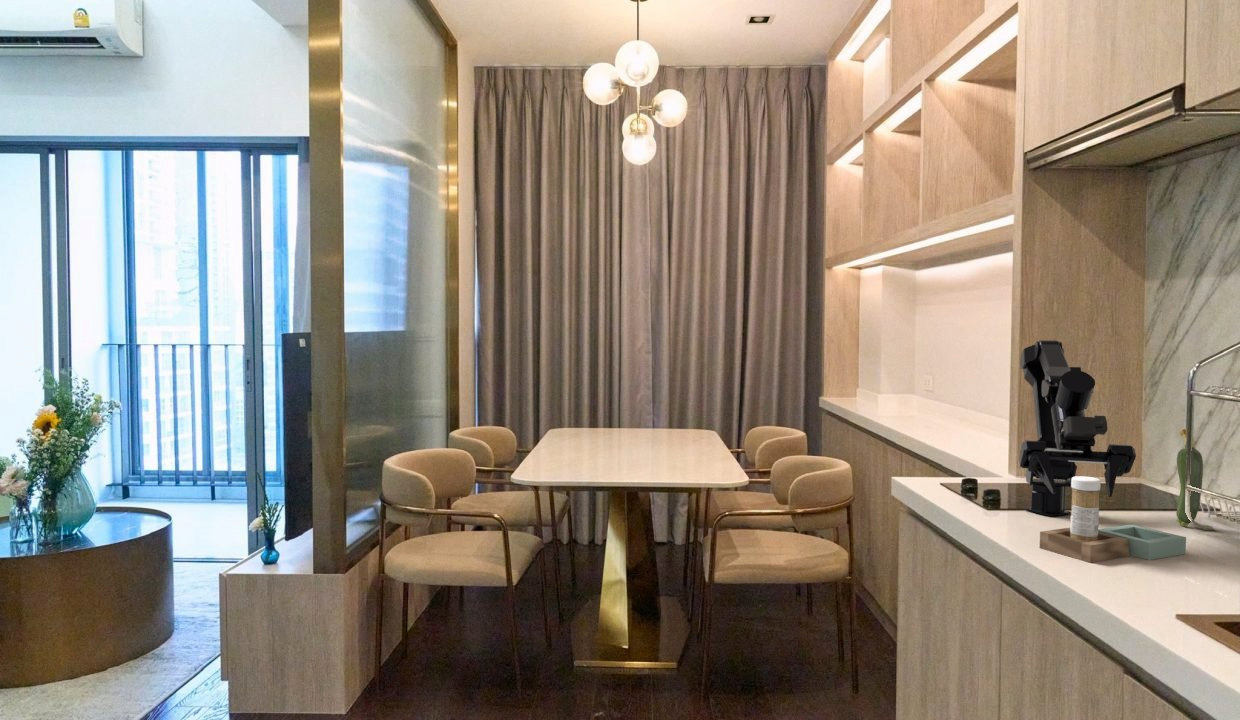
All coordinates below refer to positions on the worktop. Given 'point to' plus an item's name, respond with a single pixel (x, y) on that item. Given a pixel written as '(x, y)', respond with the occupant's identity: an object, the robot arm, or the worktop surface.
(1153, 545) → the green square socket
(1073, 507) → the sprinkles bottle
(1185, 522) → the vegetable
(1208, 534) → the worktop surface
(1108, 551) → the walnut socket
